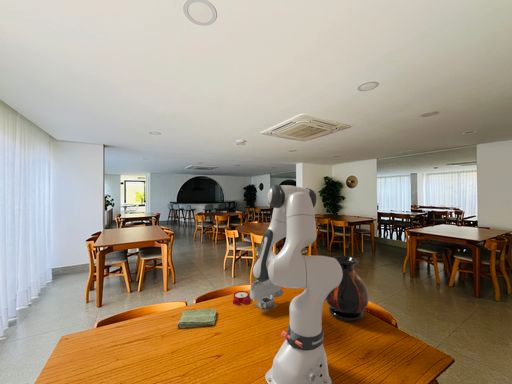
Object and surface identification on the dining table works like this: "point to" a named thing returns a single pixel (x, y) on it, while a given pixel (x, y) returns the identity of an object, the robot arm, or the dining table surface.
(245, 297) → the alarm clock
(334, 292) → the amphora vase
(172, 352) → the dining table surface
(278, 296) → the hub
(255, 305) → the stand
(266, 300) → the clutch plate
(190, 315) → the washcloth
